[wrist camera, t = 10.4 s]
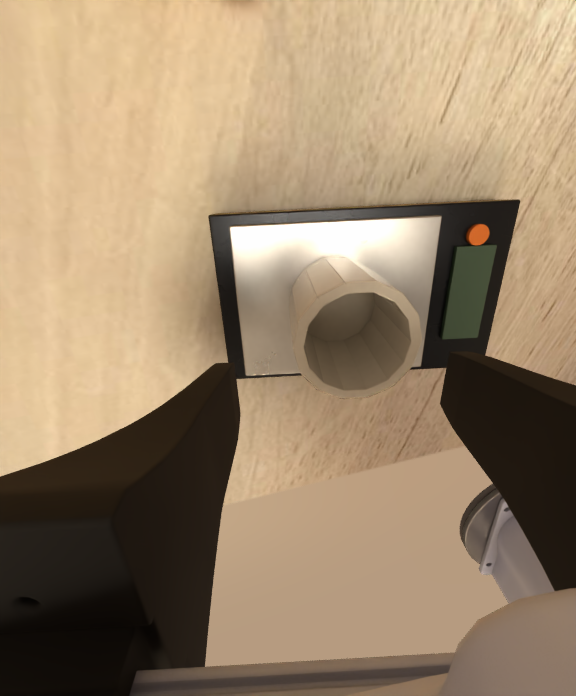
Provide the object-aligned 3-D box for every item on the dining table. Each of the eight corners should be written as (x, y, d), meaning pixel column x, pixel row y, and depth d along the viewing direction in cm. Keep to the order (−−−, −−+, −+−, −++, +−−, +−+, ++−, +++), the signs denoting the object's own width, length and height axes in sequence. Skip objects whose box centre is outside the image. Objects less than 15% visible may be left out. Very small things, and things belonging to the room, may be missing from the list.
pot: (376, 340, 18) (414, 395, 13) (290, 345, 18) (295, 401, 13) (382, 253, 16) (431, 277, 11) (286, 258, 16) (290, 285, 11)
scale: (465, 352, 21) (489, 371, 19) (234, 364, 21) (228, 385, 19) (495, 199, 17) (530, 199, 15) (215, 213, 17) (205, 215, 15)
